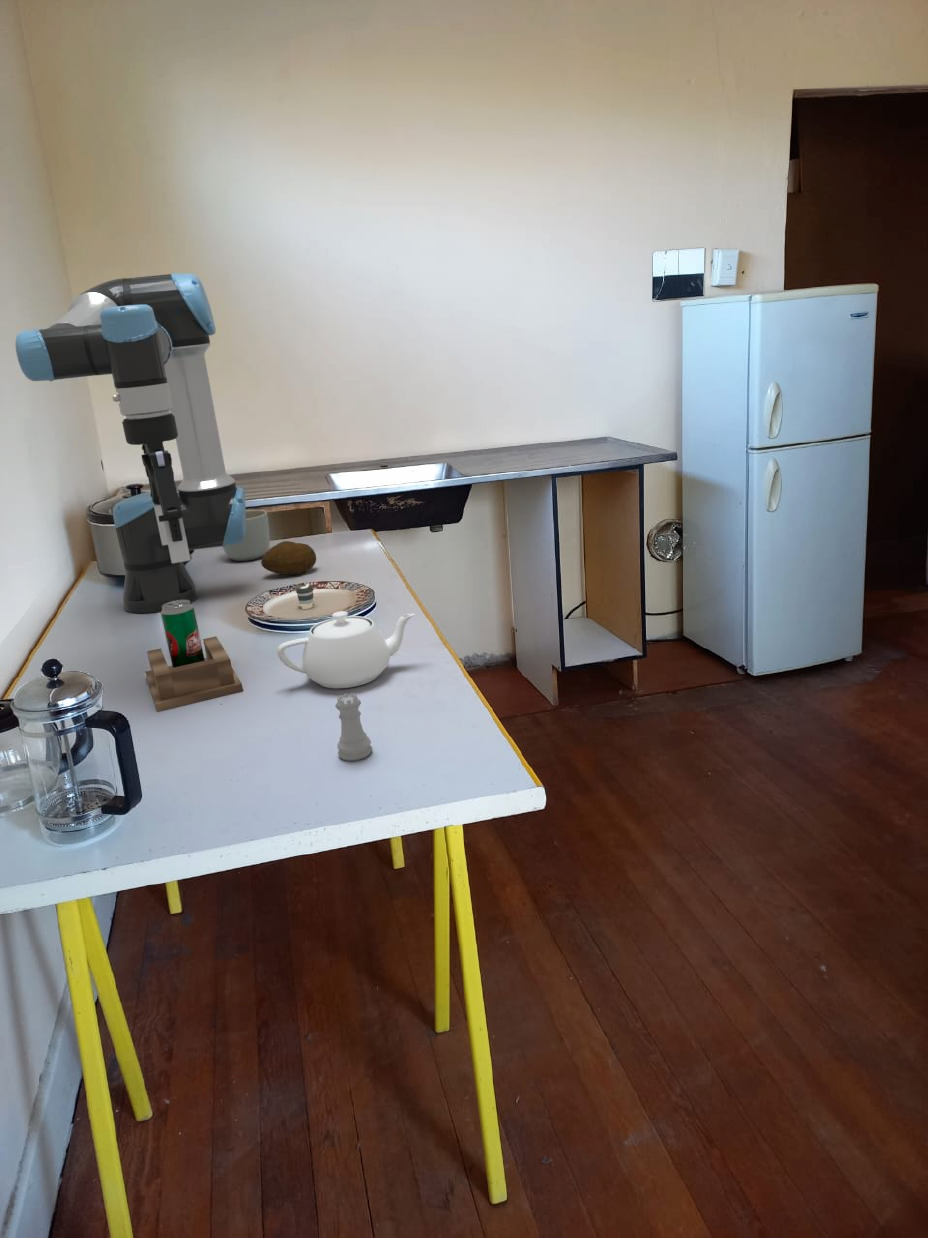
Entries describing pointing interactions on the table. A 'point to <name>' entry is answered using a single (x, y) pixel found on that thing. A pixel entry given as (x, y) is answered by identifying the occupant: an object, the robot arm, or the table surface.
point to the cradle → (192, 678)
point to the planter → (252, 538)
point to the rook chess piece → (352, 730)
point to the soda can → (182, 633)
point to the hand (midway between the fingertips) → (175, 552)
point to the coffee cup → (305, 594)
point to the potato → (289, 558)
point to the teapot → (345, 650)
